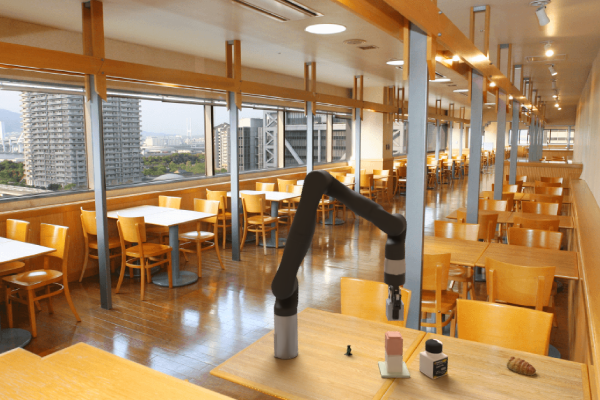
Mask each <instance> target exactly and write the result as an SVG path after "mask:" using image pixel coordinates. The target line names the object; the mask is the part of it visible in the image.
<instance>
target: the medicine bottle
mask: <svg viewBox="0 0 600 400" xmlns="http://www.w3.org/2000/svg"><path fill="white" fill-rule="evenodd" d="M443 348H444V344H443V342H442V341H441V340H438V339H435V338H429V339H426V340H425V344H424V351H421V352H419V365H418V366H419V368H418V369H419V371H420V373H423V374H424V375H426V376H427V377H429V378H430V379H432V380H435V379H437V378H441V377H444V376H446V375H448V370H449V369H448V368H449V367H448V366H449V355H448V354H446V353H444V352H443V351H444V349H443Z"/></svg>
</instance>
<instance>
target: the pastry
mask: <svg viewBox="0 0 600 400" xmlns="http://www.w3.org/2000/svg"><path fill="white" fill-rule="evenodd" d="M506 367H507V368H508V369H509V370H510V371H513V372H515V373H518V374H521V375H525V376H533V375H535V374H536V373H537V370H536V368H535V367H534V366H533V365H532V364H531V363H530V362H528V361H526V360H525V359H523V358H522V359H521V358H520V357H515V356H510V357H509V359H508V360H507V362H506Z"/></svg>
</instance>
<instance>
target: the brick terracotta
mask: <svg viewBox="0 0 600 400" xmlns="http://www.w3.org/2000/svg"><path fill="white" fill-rule="evenodd" d="M403 349H404V338H403V335H402V334H401V332H400V331H399V330H398V331H397V330H396V331H388V330H387V331H386V332H384V351H385V350H386V353H387V355H402V356H403V354H404V353H403V352H404V350H403Z"/></svg>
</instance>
